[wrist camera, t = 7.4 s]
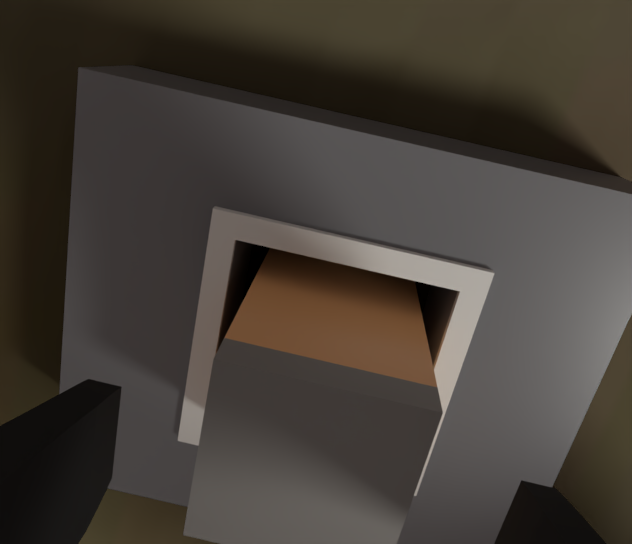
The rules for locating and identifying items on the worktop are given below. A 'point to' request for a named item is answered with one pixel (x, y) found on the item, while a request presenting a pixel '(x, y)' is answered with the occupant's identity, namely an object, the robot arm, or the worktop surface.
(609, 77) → the worktop surface
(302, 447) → the plug
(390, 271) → the socket block
